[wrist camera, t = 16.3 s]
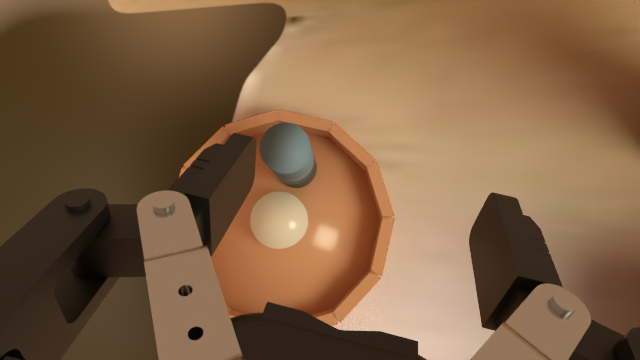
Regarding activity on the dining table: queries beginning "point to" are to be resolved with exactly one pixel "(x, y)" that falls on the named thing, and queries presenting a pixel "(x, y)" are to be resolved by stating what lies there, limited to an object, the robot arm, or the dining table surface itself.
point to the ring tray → (305, 227)
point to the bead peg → (289, 154)
